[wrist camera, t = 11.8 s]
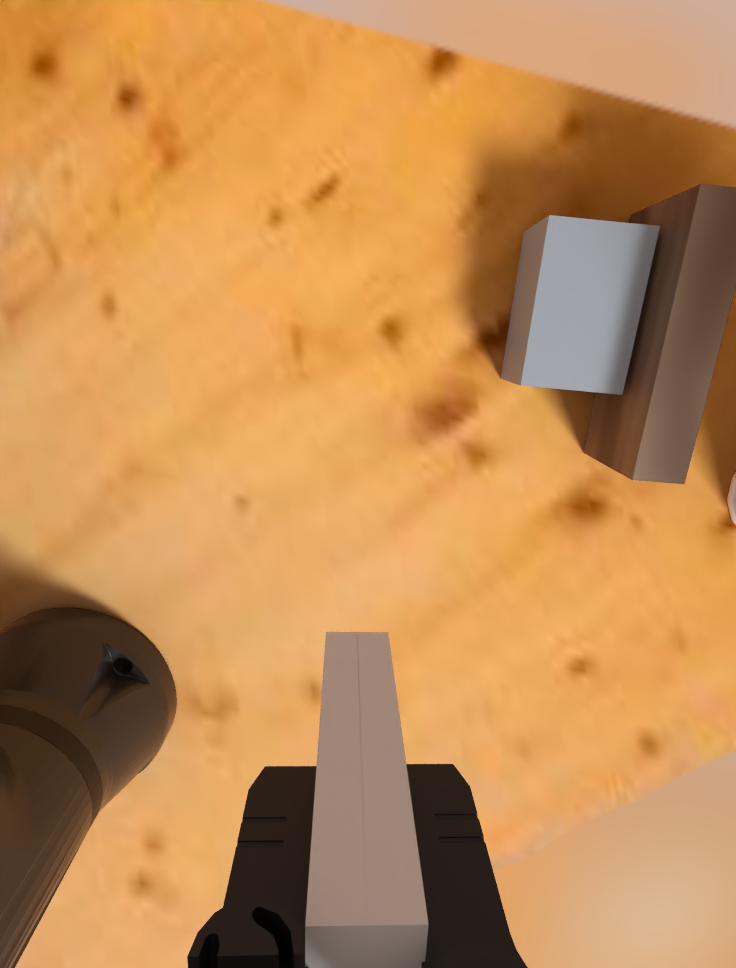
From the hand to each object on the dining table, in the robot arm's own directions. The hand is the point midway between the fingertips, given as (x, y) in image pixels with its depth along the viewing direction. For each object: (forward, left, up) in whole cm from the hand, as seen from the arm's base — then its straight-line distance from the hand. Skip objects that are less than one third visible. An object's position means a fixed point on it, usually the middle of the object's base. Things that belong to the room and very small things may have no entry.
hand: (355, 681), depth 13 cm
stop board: (+17, +9, -25) cm, 31 cm away
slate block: (+12, +10, -25) cm, 29 cm away
